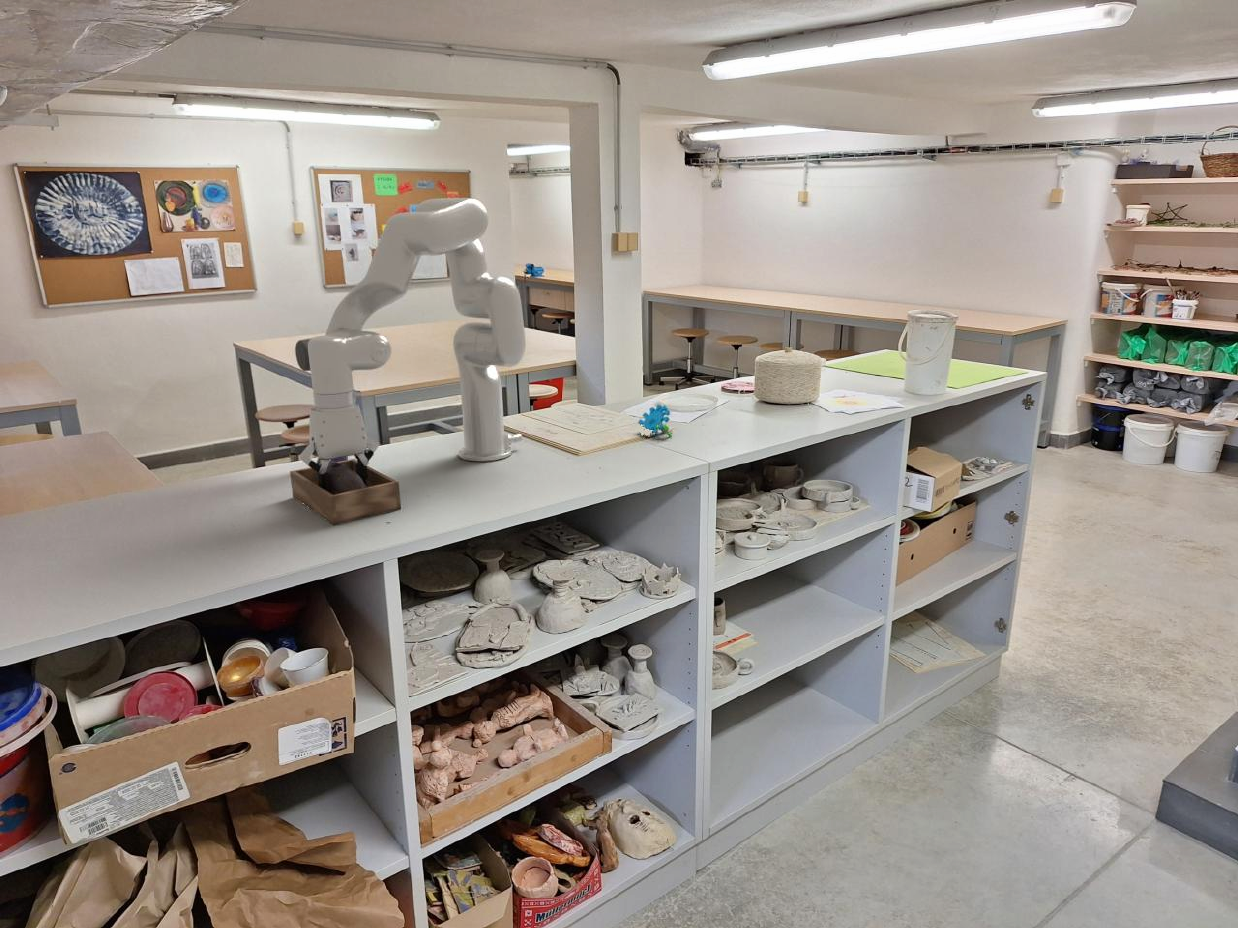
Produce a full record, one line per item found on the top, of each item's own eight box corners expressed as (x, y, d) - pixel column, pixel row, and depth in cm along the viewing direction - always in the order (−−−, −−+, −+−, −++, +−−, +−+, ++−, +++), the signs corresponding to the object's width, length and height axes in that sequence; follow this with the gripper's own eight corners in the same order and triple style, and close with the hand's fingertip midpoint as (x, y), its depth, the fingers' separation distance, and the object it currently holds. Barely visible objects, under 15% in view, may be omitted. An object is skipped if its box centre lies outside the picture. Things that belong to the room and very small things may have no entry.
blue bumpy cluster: (629, 426, 220) (655, 398, 220) (642, 439, 223) (667, 411, 224) (649, 441, 211) (676, 411, 211) (662, 454, 214) (688, 425, 215)
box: (356, 483, 180) (354, 458, 179) (401, 509, 164) (398, 481, 163) (293, 497, 172) (289, 471, 170) (333, 525, 156) (330, 496, 154)
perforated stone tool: (377, 504, 165) (372, 471, 163) (353, 512, 161) (348, 478, 159) (340, 488, 175) (335, 456, 173) (316, 495, 171) (311, 463, 169)
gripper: (369, 391, 170) (377, 474, 175) (282, 403, 160) (294, 492, 165) (384, 396, 165) (393, 482, 170) (296, 410, 154) (307, 501, 159)
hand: (344, 486), depth 167 cm, fingers open, 6 cm apart
